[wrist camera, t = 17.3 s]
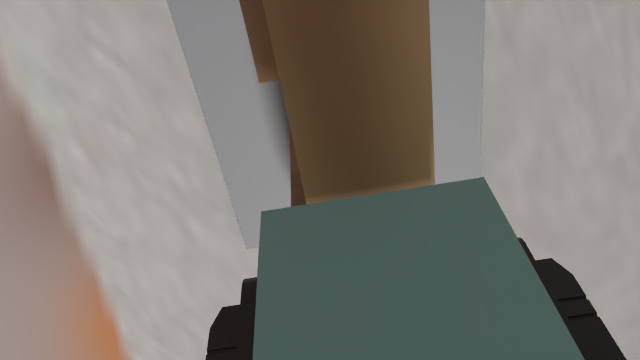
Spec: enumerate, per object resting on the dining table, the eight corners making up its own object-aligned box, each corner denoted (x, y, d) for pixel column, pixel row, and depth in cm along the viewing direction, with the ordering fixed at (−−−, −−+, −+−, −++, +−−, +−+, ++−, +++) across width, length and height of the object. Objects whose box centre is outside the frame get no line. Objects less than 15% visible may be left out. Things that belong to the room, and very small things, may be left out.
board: (483, -235, 17) (491, -237, 16) (474, 203, 27) (479, 212, 26) (120, -165, 17) (113, -164, 17) (247, 238, 28) (246, 249, 27)
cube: (483, 176, 10) (593, 375, 7) (478, 323, 13) (554, 525, 9) (261, 211, 11) (248, 422, 7) (298, 349, 13) (305, 558, 9)
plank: (397, -124, 12) (425, -109, 10) (422, 283, 20) (440, 347, 18) (253, -97, 13) (246, -76, 10) (333, 296, 21) (340, 361, 18)
